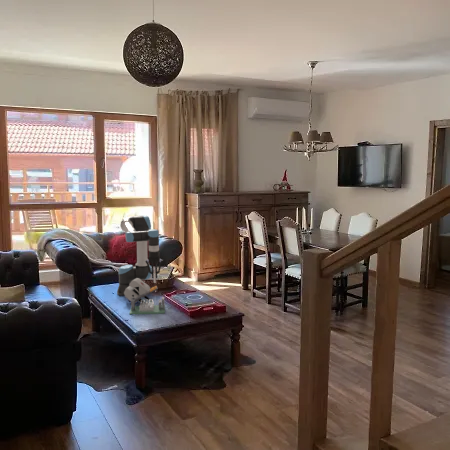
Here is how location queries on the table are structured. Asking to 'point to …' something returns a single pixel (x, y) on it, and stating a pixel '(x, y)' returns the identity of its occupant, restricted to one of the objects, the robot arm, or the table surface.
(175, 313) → the table surface
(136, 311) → the board
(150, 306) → the heatsink
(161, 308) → the lug
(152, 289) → the strap
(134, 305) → the forked tab bracket
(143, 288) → the robotic device
